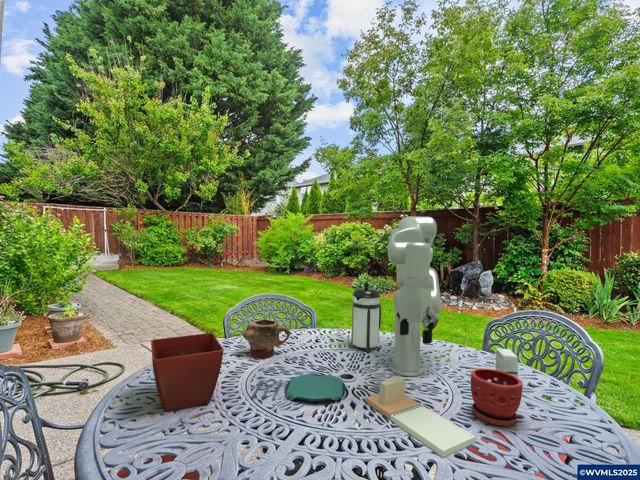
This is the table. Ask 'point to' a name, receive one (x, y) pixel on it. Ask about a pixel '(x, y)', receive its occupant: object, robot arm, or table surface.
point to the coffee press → (366, 318)
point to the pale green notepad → (433, 430)
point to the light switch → (391, 397)
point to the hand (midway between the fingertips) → (415, 338)
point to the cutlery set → (309, 388)
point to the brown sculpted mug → (264, 337)
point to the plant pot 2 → (495, 396)
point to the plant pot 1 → (186, 369)
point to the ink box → (506, 362)
